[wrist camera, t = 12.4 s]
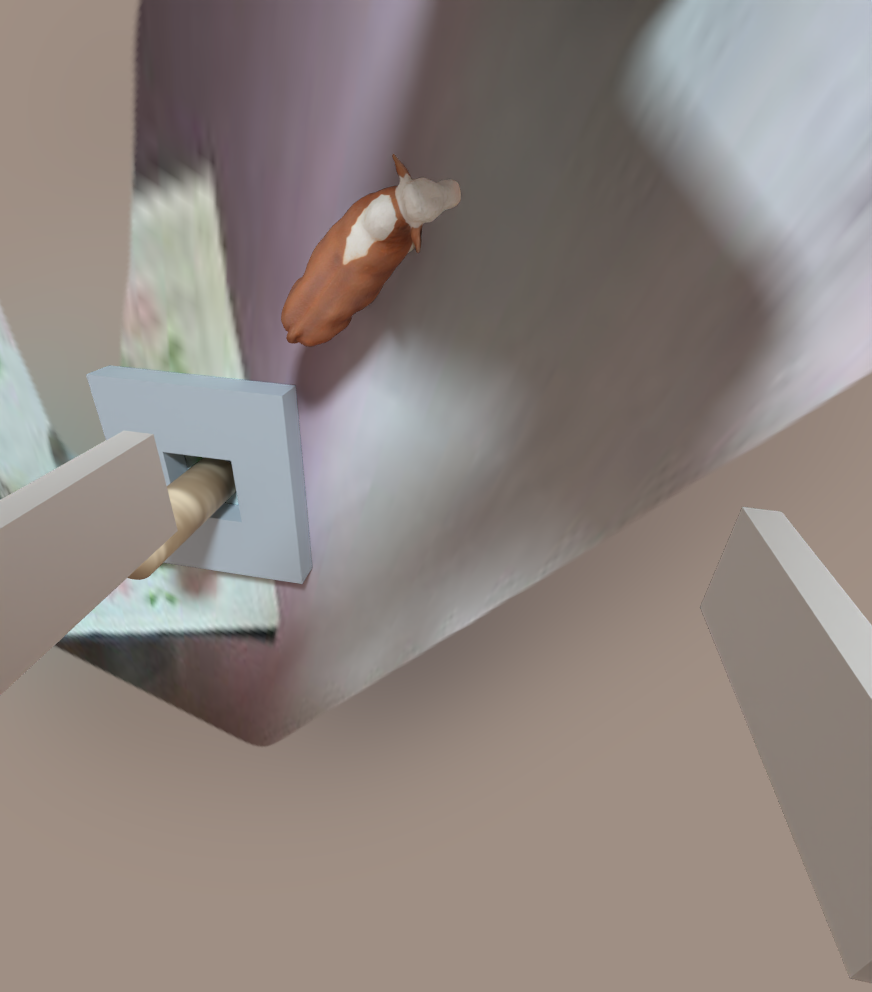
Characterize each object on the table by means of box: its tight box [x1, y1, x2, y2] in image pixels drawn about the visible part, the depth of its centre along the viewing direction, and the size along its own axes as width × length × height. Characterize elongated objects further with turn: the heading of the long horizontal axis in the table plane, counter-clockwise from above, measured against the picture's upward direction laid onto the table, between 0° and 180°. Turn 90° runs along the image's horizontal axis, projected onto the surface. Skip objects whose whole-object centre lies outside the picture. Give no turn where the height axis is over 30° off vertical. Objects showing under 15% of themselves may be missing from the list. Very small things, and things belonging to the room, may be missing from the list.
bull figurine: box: [281, 153, 461, 347], centre depth 30 cm, size 4×13×8 cm, turn 130°
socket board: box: [86, 366, 312, 584], centre depth 44 cm, size 18×16×2 cm
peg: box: [127, 457, 236, 580], centre depth 40 cm, size 4×4×12 cm
